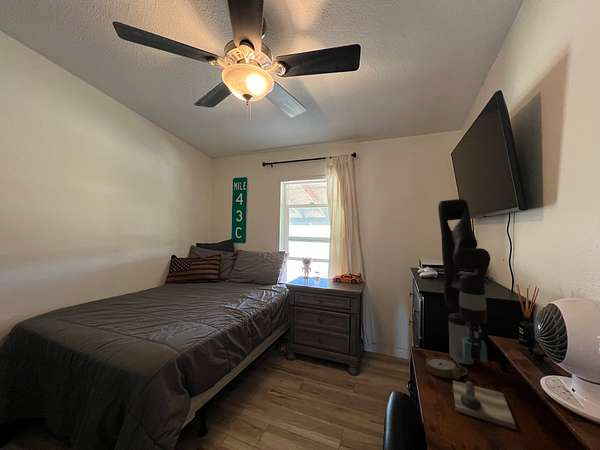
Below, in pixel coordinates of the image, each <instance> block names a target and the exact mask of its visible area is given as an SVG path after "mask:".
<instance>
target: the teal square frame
mask: <svg viewBox="0 0 600 450" xmlns="http://www.w3.org/2000/svg"><path fill="white" fill-rule="evenodd" d="M481 340H482V341H481V348H482V349H481V350H480V361H479V362H482V363H485V364H486V363H488V347H487V345H486V343H485V341H484V339H481ZM462 341H463V353H464V357H465V358H467V359H472V357H471V347H470V346H471V343H470V341H469V339H468V337H463V336H462ZM474 345H476V346H478V343H474Z"/></svg>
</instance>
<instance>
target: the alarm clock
mask: <svg viewBox="0 0 600 450" xmlns="http://www.w3.org/2000/svg"><path fill="white" fill-rule="evenodd" d="M425 363H426V366H424V368H425V369H427V371H428V372H429V373H431V374H432V375H434V376H436V377H440V378H447V379H448V378H452V379H453V380H454V381H457V380H460V379H461V377H463V376H467V375H468V370H467V368H465V367H464V366H462V364H459V362H458V361H456V360H451V359H450V358H445V357H441V356H429V357H427V358H426V360H425ZM462 370H463V371H464V372H462Z"/></svg>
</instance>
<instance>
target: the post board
mask: <svg viewBox="0 0 600 450" xmlns="http://www.w3.org/2000/svg"><path fill="white" fill-rule="evenodd" d="M452 389H453V397H454V408H455V411H456V412H458V413H462V414H465V415H468V416H471V417H475V418H477V419H481V420H483V421H487V422H490V423H493V424H497V425H499V426H503V427H504V428H508V429H509V428H510V429H512V430H516V429H517V426H516V422H515V419H514V417H513V415H512V412H511V410H510V408H509V405H508V403H507V401H506V398H505V395H504V393H503V392H499V391H496V390H495V391H494V390H492V389H488V388H484V387H481V386H477V385H476V386H475V384H474V383H473V382H472V381H466V382H460V381H457V380H455V379H453V380H452Z"/></svg>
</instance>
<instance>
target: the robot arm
mask: <svg viewBox="0 0 600 450" xmlns="http://www.w3.org/2000/svg"><path fill="white" fill-rule="evenodd" d="M437 210H438V217H439V218H438V219H439V226H440V233H441V255H442V264H443V265H442V267H443V276H444V277H443V281H444V282H443V283H444V284H443V289H444V291H443V297H444V303H445V305H446V306H447V307H451V308H456V309H457V308H458V309H459V312H453V313H450V314H448V337H449V338H448V339H449V344H448V345H449V358H450V357H451V358H452V359H453V360H456V361H458V362H459V363H463V364H473V363H475V362H479V363H480V362H481V361H480V350H481V349H482V348H481V341H482V340H483V339H482V335H483V334H482V328H481V326H480V325H479V324H486V323H487V320H488V319H487V317H488V315H487V299H486V291H485V290H486V289H485V280H486V277H487V272H488V269H489V266H490V263H491V255H490V253H489V251H488V250H487V249H485V248H480V247H479V248H477V247H478V241H477V238H476V236H475V235H476V234H475V233H474V230H473V227H472V219H471V213H470V212H471V211H470V208H469V205H468V202H467V201H466V200H465V199H464V198H456V199H447V200H441V201H439V202H438V209H437ZM458 220H459V221H458ZM449 221H458V222H457V223H456V225H455V226H454V227H453V229H451V227H450V226H449ZM463 269H475V271H474V272H473V273H470V274H463V275H461V276H459V287H453V282H454V280H455V279H456V277H457V276H458V275H459V273H460V272H461V271H462V270H463ZM462 336H463V337H468V339H469V341H470V343H471V346H470V347H471V357H472V359H467V358H465V357H464V353H463V341H462ZM474 343H478V346H476V345H474ZM453 360H452V361H453ZM463 364H462V365H463ZM473 365H474V364H473Z"/></svg>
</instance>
